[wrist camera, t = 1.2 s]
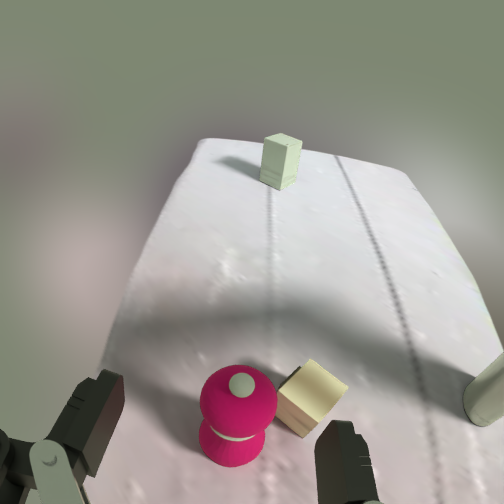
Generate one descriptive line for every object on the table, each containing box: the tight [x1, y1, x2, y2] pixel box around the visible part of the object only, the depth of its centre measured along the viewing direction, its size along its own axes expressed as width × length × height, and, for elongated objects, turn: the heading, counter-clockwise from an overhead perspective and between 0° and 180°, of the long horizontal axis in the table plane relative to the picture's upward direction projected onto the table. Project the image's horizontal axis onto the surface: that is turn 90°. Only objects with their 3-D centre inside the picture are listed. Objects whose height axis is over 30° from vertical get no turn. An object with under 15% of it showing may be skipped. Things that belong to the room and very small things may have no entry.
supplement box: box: [259, 133, 302, 190], centre depth 79 cm, size 7×7×13 cm
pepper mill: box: [199, 365, 278, 467], centre depth 26 cm, size 7×7×20 cm
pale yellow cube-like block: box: [275, 359, 349, 438], centre depth 35 cm, size 6×6×7 cm
